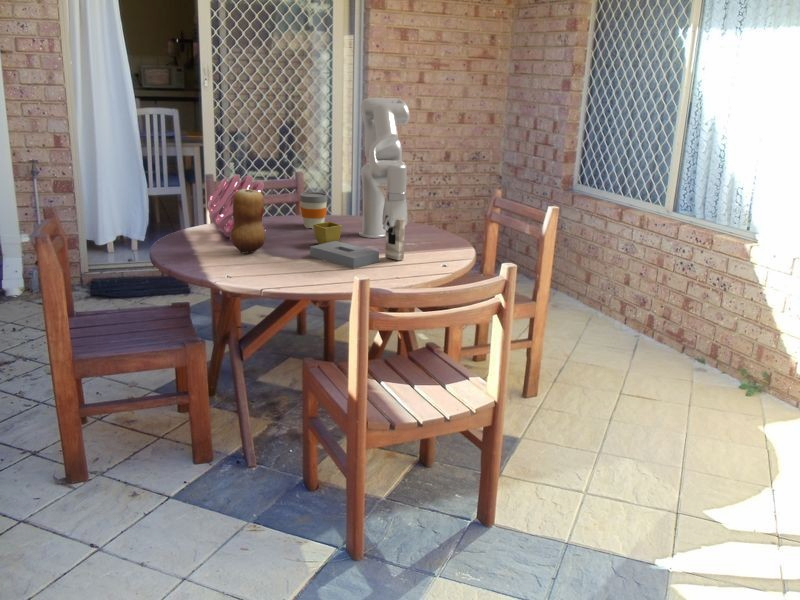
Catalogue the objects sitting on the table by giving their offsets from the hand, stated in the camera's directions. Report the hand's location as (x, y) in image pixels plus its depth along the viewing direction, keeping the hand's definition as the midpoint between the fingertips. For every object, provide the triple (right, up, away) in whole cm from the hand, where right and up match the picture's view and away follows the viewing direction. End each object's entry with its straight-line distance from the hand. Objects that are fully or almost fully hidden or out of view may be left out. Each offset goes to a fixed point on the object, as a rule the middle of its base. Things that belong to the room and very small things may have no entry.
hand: (394, 242), depth 287 cm
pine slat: (0, -6, +2) cm, 6 cm away
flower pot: (-28, 0, +20) cm, 35 cm away
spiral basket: (-68, +5, +31) cm, 75 cm away
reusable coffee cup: (-38, +11, +53) cm, 66 cm away
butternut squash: (-59, -3, +7) cm, 59 cm away
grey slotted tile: (-20, -6, 0) cm, 21 cm away
